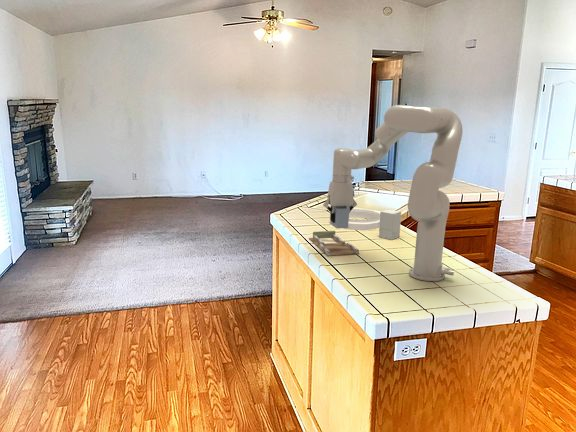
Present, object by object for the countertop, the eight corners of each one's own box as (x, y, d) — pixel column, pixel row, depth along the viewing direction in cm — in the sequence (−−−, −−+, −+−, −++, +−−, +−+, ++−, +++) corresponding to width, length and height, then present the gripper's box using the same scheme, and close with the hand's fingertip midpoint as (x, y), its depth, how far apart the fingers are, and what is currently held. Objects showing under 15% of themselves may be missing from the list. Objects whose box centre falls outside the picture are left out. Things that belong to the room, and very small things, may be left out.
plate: (392, 226, 238) (393, 216, 237) (354, 233, 223) (354, 222, 222) (357, 215, 260) (357, 206, 258) (320, 221, 245) (320, 211, 243)
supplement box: (399, 237, 217) (402, 211, 214) (391, 240, 211) (393, 213, 208) (386, 234, 221) (388, 208, 219) (378, 237, 216) (379, 211, 213)
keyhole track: (359, 254, 190) (359, 246, 189) (327, 256, 186) (327, 248, 186) (337, 237, 214) (337, 230, 213) (308, 238, 211) (309, 231, 210)
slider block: (348, 228, 188) (349, 209, 186) (336, 228, 187) (337, 209, 185) (341, 223, 196) (342, 205, 194) (330, 223, 195) (331, 205, 193)
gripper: (357, 177, 192) (354, 218, 197) (319, 177, 188) (317, 220, 192) (364, 180, 185) (361, 223, 190) (324, 180, 181) (322, 224, 185)
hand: (339, 221), depth 191 cm, fingers closed on slider block, 5 cm apart
